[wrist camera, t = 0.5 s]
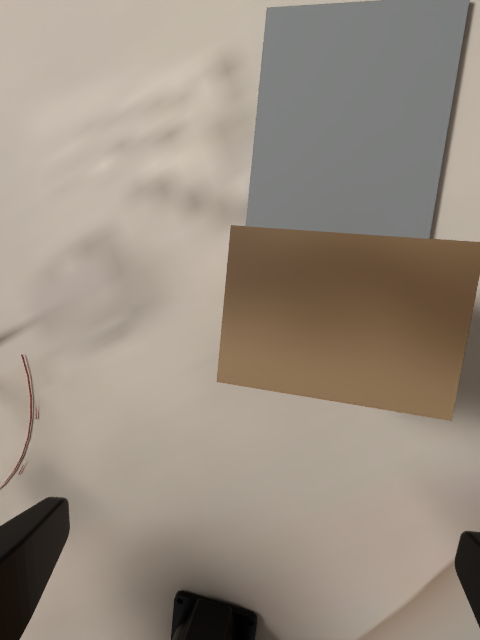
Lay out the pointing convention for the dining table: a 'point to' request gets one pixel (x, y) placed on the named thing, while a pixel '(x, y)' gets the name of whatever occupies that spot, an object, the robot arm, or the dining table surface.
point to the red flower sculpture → (30, 413)
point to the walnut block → (348, 317)
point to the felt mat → (354, 115)
